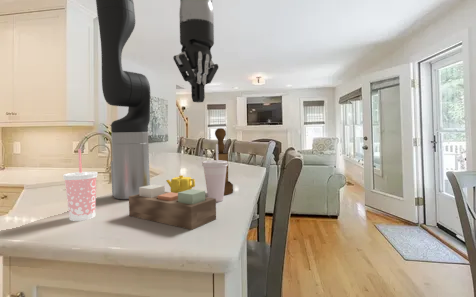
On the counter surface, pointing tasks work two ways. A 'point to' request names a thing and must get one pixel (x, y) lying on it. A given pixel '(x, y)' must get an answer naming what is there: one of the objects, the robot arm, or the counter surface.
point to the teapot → (181, 184)
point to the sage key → (191, 196)
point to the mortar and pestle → (223, 158)
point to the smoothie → (215, 177)
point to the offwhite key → (151, 191)
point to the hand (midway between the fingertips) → (198, 101)
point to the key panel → (173, 211)
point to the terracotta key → (168, 196)
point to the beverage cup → (81, 193)
